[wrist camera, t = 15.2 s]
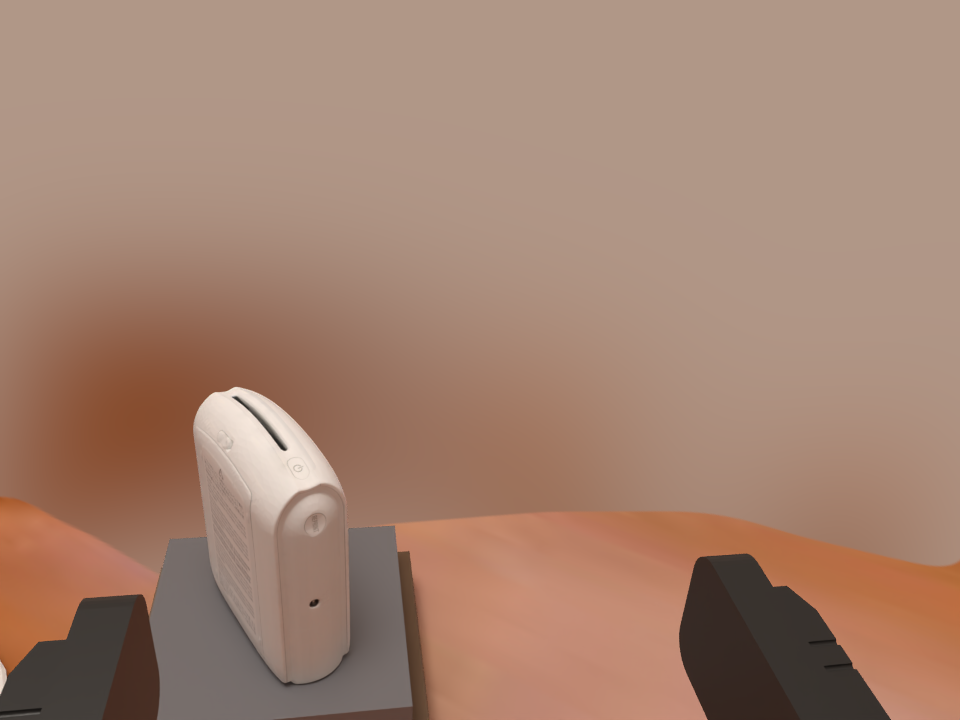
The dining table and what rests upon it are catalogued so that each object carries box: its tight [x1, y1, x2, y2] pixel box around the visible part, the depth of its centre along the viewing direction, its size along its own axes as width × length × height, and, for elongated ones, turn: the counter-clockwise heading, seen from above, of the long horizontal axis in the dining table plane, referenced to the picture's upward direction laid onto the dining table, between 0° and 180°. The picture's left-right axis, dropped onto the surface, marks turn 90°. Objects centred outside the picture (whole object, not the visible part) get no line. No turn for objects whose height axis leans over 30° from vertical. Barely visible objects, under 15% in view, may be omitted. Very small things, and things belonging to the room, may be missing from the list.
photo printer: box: [193, 387, 350, 684], centre depth 41 cm, size 10×4×12 cm, turn 37°
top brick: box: [149, 526, 413, 720], centre depth 44 cm, size 13×13×3 cm
